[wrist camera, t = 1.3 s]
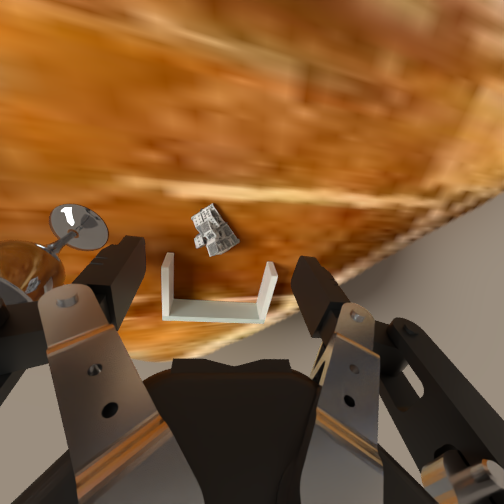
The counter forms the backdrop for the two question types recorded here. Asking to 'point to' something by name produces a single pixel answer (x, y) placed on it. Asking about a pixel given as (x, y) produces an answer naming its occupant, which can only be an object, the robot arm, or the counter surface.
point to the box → (215, 309)
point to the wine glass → (47, 254)
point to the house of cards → (213, 231)
